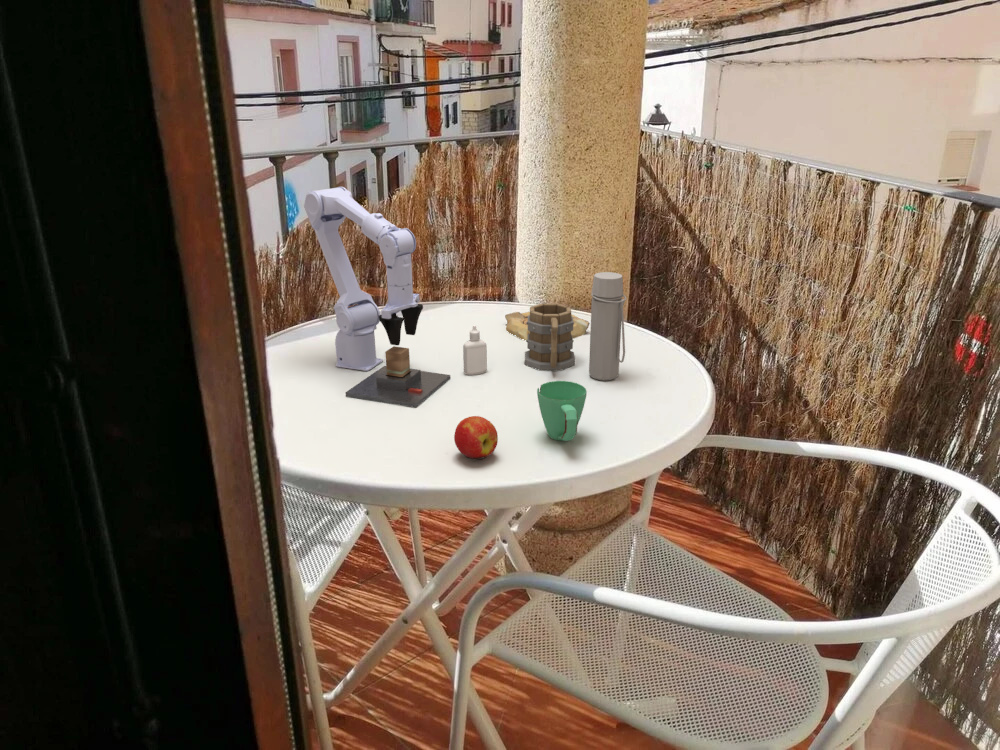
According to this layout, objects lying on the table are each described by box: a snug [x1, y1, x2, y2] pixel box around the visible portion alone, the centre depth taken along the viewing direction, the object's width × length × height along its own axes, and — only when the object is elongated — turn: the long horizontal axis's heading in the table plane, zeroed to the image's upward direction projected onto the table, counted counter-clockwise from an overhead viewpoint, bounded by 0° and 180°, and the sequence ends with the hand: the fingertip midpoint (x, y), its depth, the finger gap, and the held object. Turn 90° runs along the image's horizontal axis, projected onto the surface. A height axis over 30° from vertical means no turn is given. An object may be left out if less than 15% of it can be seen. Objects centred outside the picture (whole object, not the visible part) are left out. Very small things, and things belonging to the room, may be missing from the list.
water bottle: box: [588, 271, 627, 382], centre depth 179 cm, size 9×8×25 cm
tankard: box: [524, 302, 576, 371], centre depth 188 cm, size 20×13×15 cm, turn 178°
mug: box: [536, 380, 588, 442], centre depth 151 cm, size 15×10×10 cm
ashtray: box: [504, 311, 591, 341], centre depth 217 cm, size 24×24×5 cm
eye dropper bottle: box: [462, 325, 488, 376], centre depth 185 cm, size 4×6×12 cm
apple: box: [453, 415, 499, 460], centre depth 145 cm, size 8×8×8 cm
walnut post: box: [384, 345, 411, 377], centre depth 176 cm, size 4×4×6 cm
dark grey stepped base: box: [345, 365, 451, 409], centre depth 178 cm, size 18×18×4 cm
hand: (402, 339), depth 179 cm, fingers open, 7 cm apart
